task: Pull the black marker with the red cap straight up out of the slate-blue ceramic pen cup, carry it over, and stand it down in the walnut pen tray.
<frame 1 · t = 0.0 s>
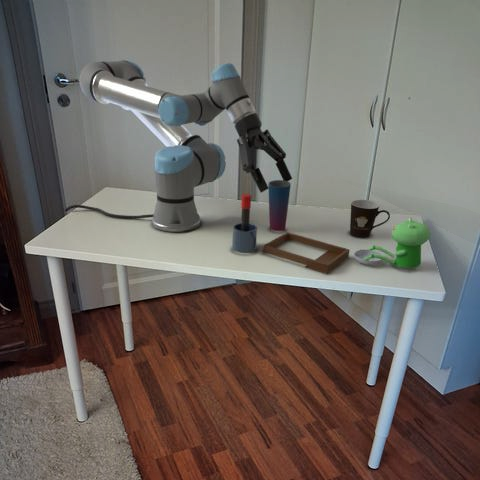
hand: (277, 185, 142), 15 cm above the table, tool tilted 35°, fingers open, 13 cm apart
cup: (277, 230, 153), on the table, touching gripper
coffee mug: (363, 236, 152), on the table
marker: (244, 247, 138), point 1 cm above the table, touching pen cup
pen cup: (244, 250, 139), on the table, touching marker
pen tray: (305, 255, 137), on the table
toy character: (389, 263, 134), on the table
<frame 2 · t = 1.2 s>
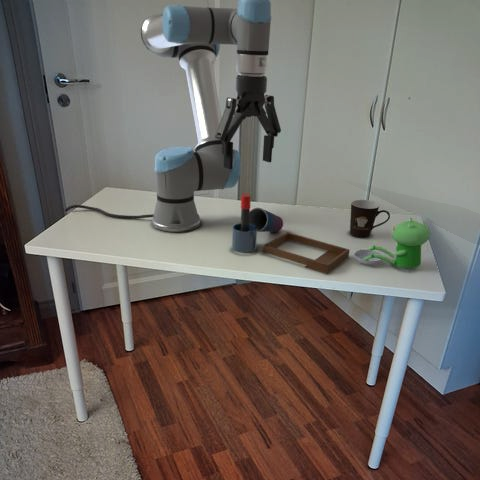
hand: (248, 164, 126), 24 cm above the table, tool pointing down, fingers open, 13 cm apart
cup: (276, 223, 151), point 3 cm above the table, touching pen cup
pen cup: (243, 250, 138), on the table, touching cup, marker
everything else where it was.
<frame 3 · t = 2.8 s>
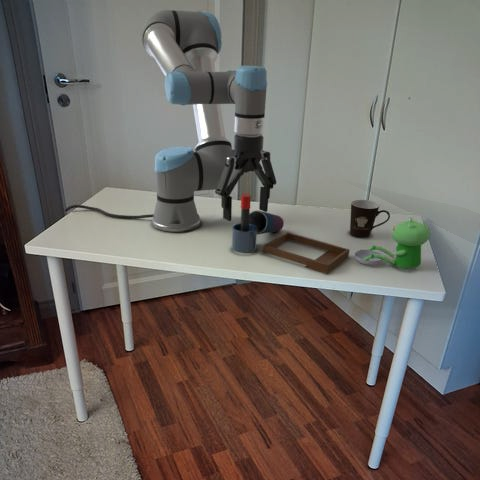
hand: (245, 214, 133), 11 cm above the table, tool pointing down, fingers open, 13 cm apart
cup: (276, 223, 151), point 3 cm above the table
pen cup: (243, 250, 138), on the table, touching marker
everything else where it was.
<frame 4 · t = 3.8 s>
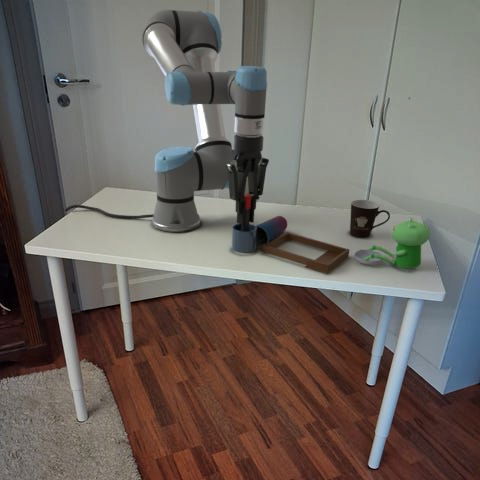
hand: (245, 222, 134), 9 cm above the table, tool pointing down, fingers closed on marker, 3 cm apart
cup: (280, 223, 150), point 3 cm above the table
marker: (244, 247, 138), point 1 cm above the table, touching gripper
pen cup: (243, 250, 138), on the table
everything else where it was.
when the fingers open (8 cm above the table, at t = 10.4 s): marker stays where it is, resting on pen tray.
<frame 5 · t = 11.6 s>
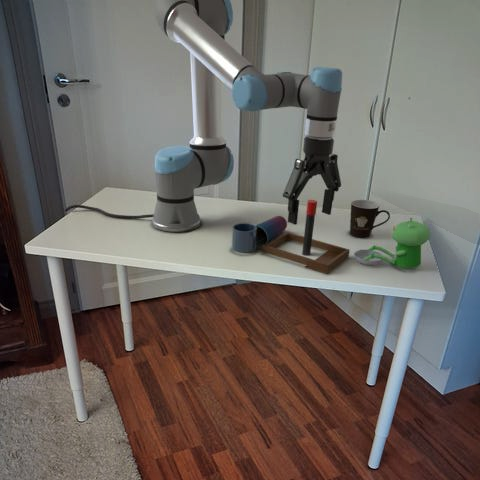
hand: (309, 218, 131), 11 cm above the table, tool pointing down, fingers open, 13 cm apart
marker: (306, 254, 136), point 1 cm above the table, touching pen tray
everything else where it was.
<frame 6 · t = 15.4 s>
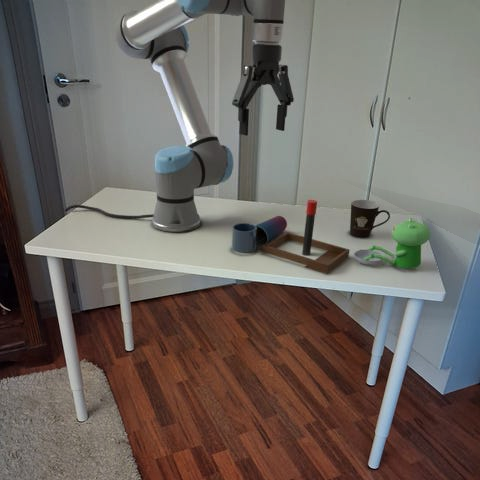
hand: (262, 132, 131), 31 cm above the table, tool pointing down, fingers open, 13 cm apart
nothing on the table moved.
at the end: marker inside the target area in the pen tray (0.2 cm from its centre), point 0.6 cm above the pen tray's base; the gripper is holding nothing; pen cup moved 0.2 cm from its start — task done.
